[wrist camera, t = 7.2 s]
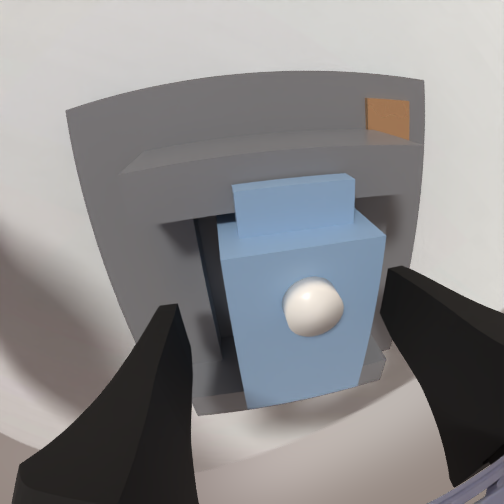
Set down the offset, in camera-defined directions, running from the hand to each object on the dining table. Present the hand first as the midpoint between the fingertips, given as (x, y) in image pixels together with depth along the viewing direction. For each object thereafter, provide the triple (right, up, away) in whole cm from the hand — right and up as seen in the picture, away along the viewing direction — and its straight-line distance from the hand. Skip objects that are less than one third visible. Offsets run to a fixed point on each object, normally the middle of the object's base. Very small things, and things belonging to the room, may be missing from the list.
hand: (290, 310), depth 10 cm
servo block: (0, +2, +3) cm, 3 cm away
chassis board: (0, +2, +4) cm, 4 cm away
